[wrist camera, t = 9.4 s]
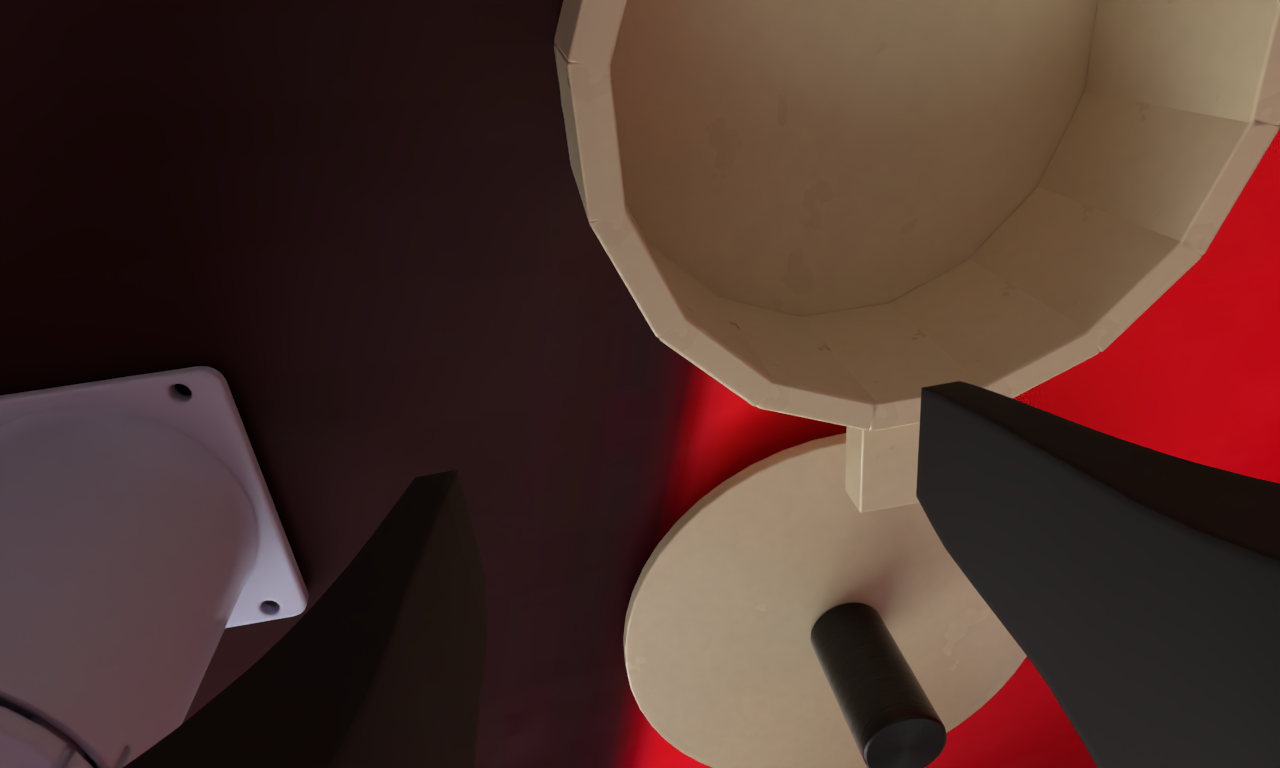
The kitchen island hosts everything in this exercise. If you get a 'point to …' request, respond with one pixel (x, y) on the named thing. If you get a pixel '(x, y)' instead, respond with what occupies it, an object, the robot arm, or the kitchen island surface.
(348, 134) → the kitchen island surface
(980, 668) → the pot lid
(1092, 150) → the pot
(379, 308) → the kitchen island surface
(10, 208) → the kitchen island surface
